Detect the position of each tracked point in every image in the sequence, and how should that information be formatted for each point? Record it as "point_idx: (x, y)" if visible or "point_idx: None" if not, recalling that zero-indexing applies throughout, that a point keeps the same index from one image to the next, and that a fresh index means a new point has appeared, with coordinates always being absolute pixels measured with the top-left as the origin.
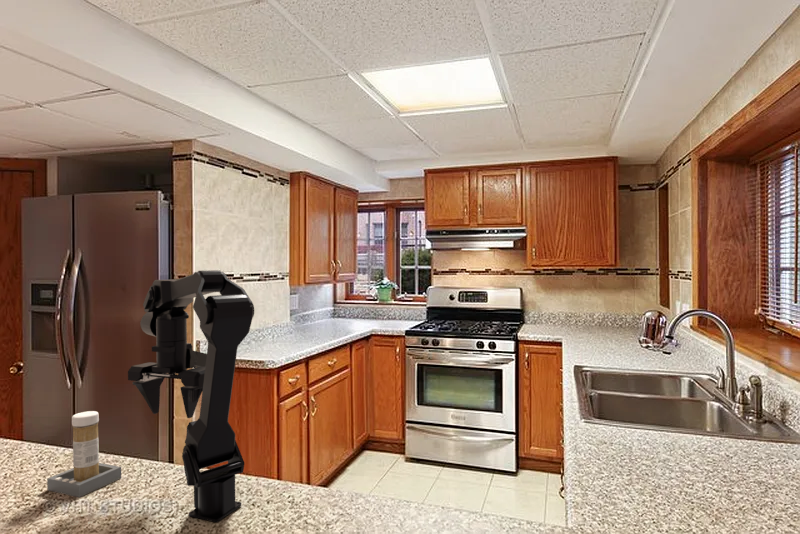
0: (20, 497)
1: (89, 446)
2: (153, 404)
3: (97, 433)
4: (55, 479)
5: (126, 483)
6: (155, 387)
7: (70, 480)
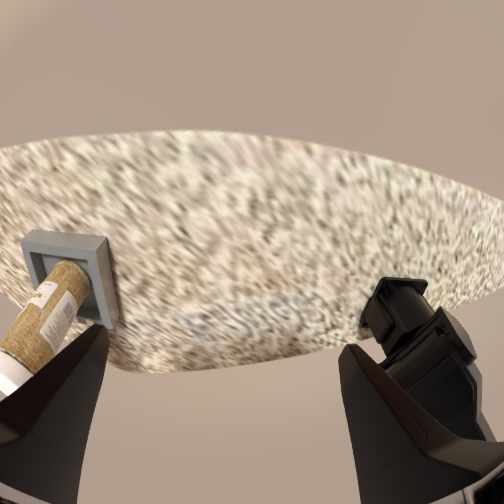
0: None
1: (59, 343)
2: (95, 387)
3: (37, 342)
4: None
5: (141, 255)
6: (45, 454)
7: (80, 317)
